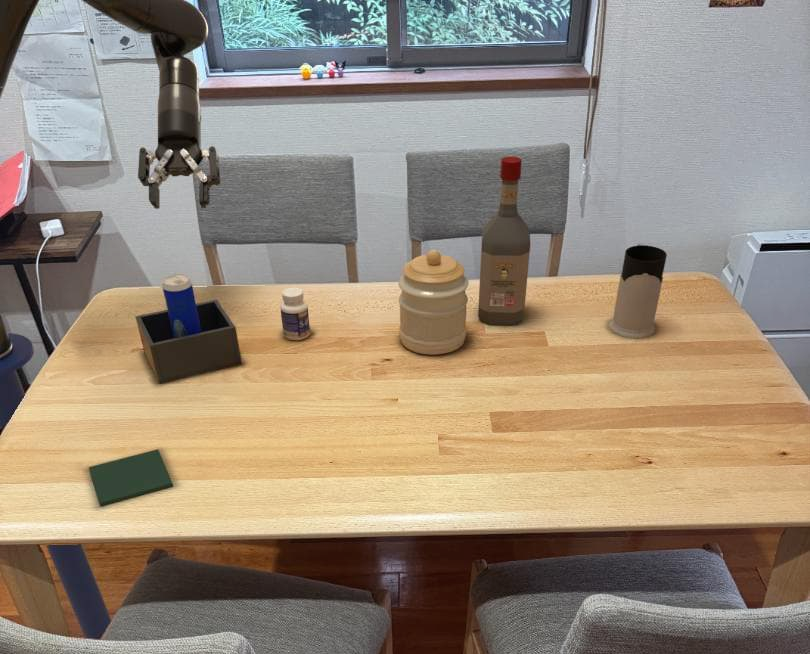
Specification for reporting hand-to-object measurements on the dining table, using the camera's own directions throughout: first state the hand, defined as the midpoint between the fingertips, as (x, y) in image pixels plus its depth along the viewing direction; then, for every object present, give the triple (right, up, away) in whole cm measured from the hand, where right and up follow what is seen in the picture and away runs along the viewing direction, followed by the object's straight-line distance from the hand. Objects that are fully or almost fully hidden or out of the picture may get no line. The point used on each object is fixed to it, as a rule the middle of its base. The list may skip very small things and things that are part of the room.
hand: (179, 206), depth 146 cm
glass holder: (+86, -16, +16) cm, 89 cm away
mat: (-2, -51, -20) cm, 54 cm away
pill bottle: (+19, -20, +14) cm, 31 cm away
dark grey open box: (0, -26, +8) cm, 27 cm away
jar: (+46, -21, +12) cm, 52 cm away
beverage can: (0, -25, +7) cm, 26 cm away
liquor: (+60, -15, +19) cm, 65 cm away
